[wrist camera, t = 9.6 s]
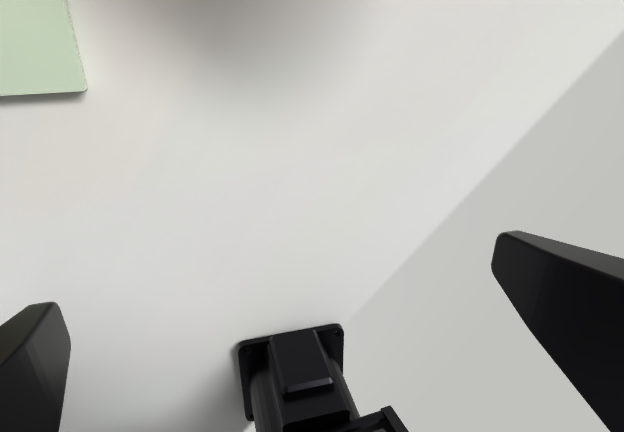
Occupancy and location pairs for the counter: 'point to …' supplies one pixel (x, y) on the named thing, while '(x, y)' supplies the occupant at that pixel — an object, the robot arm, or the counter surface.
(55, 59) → the build plate
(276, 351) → the robot arm
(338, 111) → the counter surface
